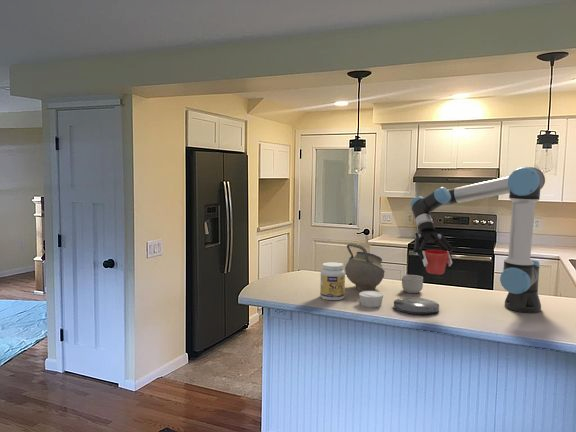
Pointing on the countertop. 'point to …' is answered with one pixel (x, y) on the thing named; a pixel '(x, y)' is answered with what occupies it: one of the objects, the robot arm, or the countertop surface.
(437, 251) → the flower pot
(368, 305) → the ramekin
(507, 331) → the countertop surface
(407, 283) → the teacup
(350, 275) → the pot
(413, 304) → the disc
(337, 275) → the supplement tub
